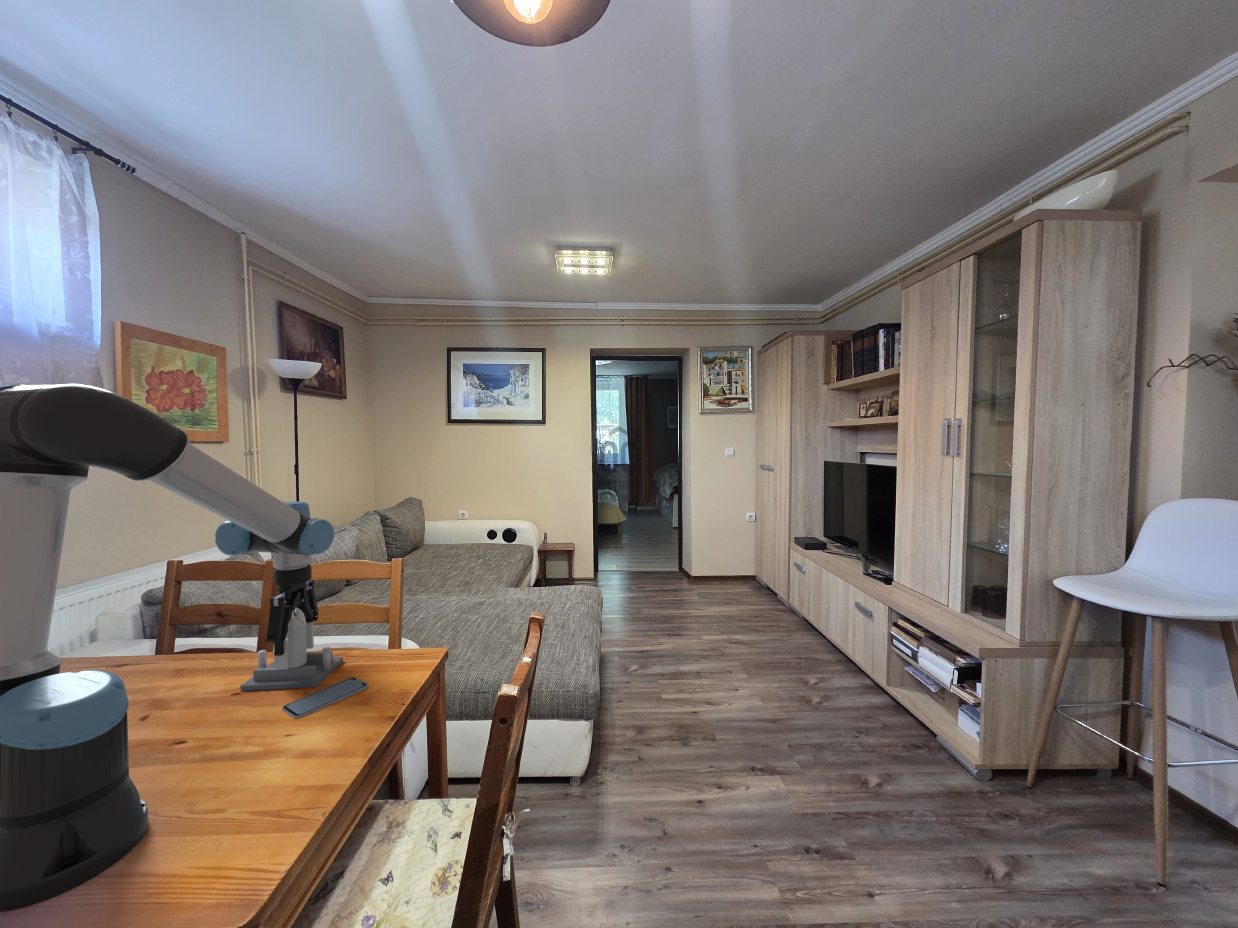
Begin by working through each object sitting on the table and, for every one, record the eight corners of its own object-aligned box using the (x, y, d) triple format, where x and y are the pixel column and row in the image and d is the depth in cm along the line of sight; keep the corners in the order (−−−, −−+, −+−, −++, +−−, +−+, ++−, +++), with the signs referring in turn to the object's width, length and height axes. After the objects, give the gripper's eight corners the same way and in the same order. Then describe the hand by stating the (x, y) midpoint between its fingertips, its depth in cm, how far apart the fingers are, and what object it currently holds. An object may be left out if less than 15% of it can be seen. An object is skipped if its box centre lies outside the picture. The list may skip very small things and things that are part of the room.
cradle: (315, 686, 107) (315, 660, 106) (240, 690, 105) (239, 663, 105) (343, 661, 120) (342, 637, 119) (276, 664, 118) (275, 640, 118)
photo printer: (282, 655, 115) (281, 606, 114) (303, 650, 118) (302, 602, 117) (285, 670, 107) (284, 618, 106) (308, 665, 110) (306, 613, 109)
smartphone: (280, 706, 98) (352, 676, 111) (280, 711, 98) (352, 680, 111) (296, 717, 94) (369, 684, 107) (296, 722, 94) (369, 688, 107)
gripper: (280, 578, 101) (283, 679, 102) (332, 554, 123) (334, 637, 124) (243, 579, 100) (246, 681, 101) (302, 555, 122) (304, 638, 123)
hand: (295, 657), depth 112 cm, fingers closed on photo printer, 10 cm apart
